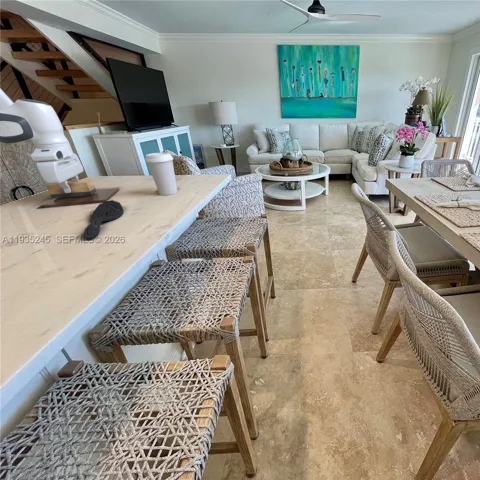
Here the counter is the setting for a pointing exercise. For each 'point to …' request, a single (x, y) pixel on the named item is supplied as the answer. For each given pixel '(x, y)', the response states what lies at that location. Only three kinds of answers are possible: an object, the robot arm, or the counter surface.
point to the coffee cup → (162, 172)
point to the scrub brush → (77, 187)
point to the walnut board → (82, 199)
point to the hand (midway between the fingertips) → (73, 189)
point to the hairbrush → (102, 217)
